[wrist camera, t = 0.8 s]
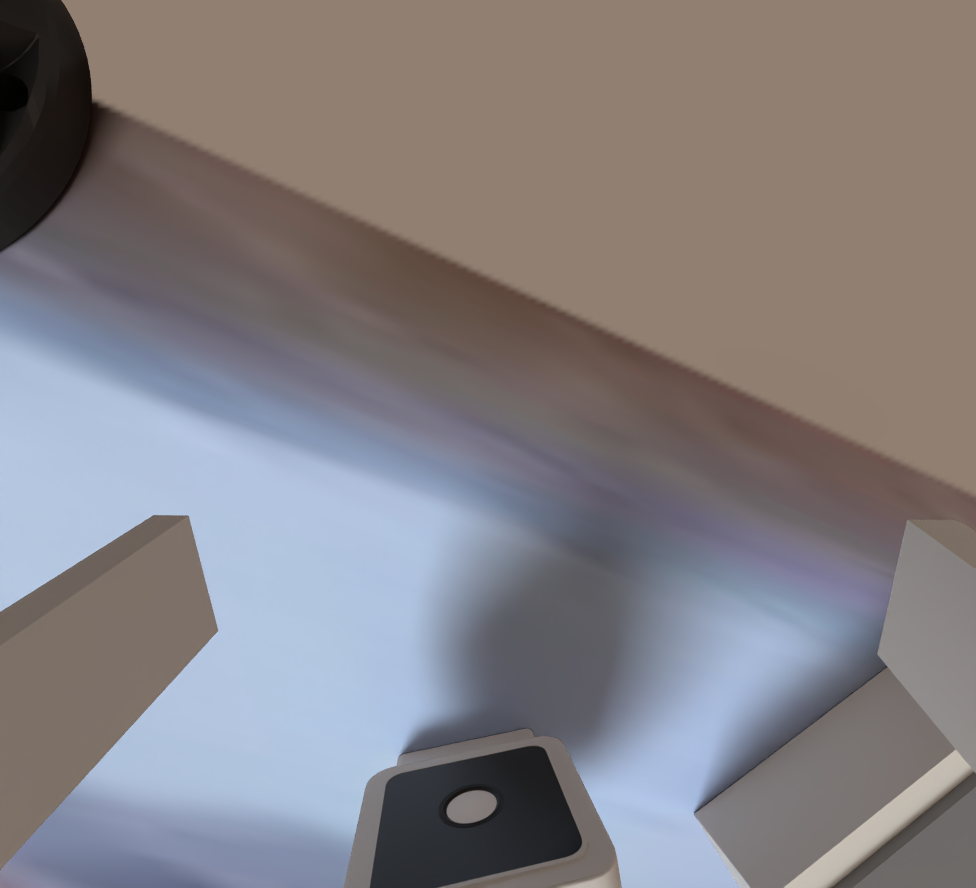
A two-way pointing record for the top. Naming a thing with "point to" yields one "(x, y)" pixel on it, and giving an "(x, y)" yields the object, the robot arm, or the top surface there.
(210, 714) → the top surface
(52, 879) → the top surface
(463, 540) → the top surface
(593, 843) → the security camera
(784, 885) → the cream gray-topped block
